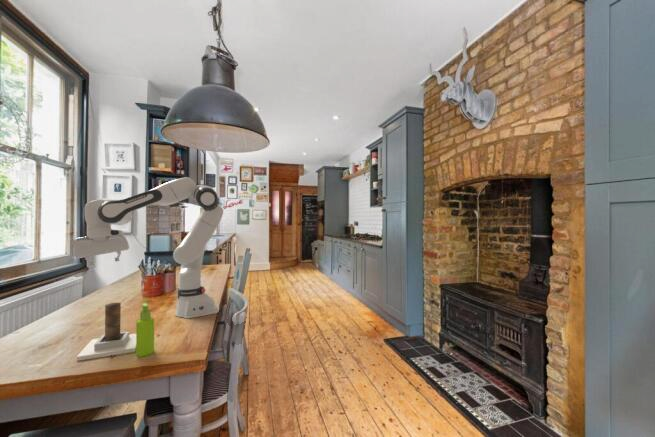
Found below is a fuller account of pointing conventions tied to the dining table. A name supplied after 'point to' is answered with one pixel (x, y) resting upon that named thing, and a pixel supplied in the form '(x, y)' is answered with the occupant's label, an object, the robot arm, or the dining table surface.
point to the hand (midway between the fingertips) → (105, 263)
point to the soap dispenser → (145, 332)
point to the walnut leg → (112, 321)
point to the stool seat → (109, 347)
